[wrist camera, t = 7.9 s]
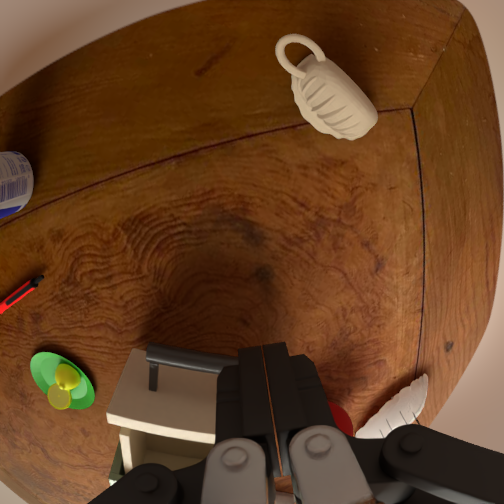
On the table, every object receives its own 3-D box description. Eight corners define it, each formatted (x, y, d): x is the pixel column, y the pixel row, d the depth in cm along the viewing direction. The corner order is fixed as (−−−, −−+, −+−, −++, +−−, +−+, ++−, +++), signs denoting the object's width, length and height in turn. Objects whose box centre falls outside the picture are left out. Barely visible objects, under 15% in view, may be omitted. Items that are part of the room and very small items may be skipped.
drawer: (133, 305, 23) (100, 367, 16) (275, 330, 25) (291, 399, 17) (135, 442, 29) (122, 497, 21) (234, 458, 30) (236, 514, 23)
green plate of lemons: (100, 413, 28) (93, 430, 26) (40, 393, 27) (31, 409, 25) (92, 360, 26) (82, 378, 23) (26, 340, 25) (13, 355, 22)
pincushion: (368, 443, 33) (382, 475, 27) (336, 434, 31) (348, 471, 26) (436, 379, 30) (459, 409, 24) (409, 364, 28) (434, 398, 23)
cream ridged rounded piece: (338, 156, 21) (368, 159, 16) (258, 71, 19) (266, 48, 14) (375, 122, 21) (412, 118, 16) (298, 38, 18) (317, 10, 13)
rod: (294, 490, 37) (298, 504, 34) (282, 497, 37) (285, 510, 35) (231, 476, 33) (233, 493, 30) (219, 484, 34) (220, 500, 31)
